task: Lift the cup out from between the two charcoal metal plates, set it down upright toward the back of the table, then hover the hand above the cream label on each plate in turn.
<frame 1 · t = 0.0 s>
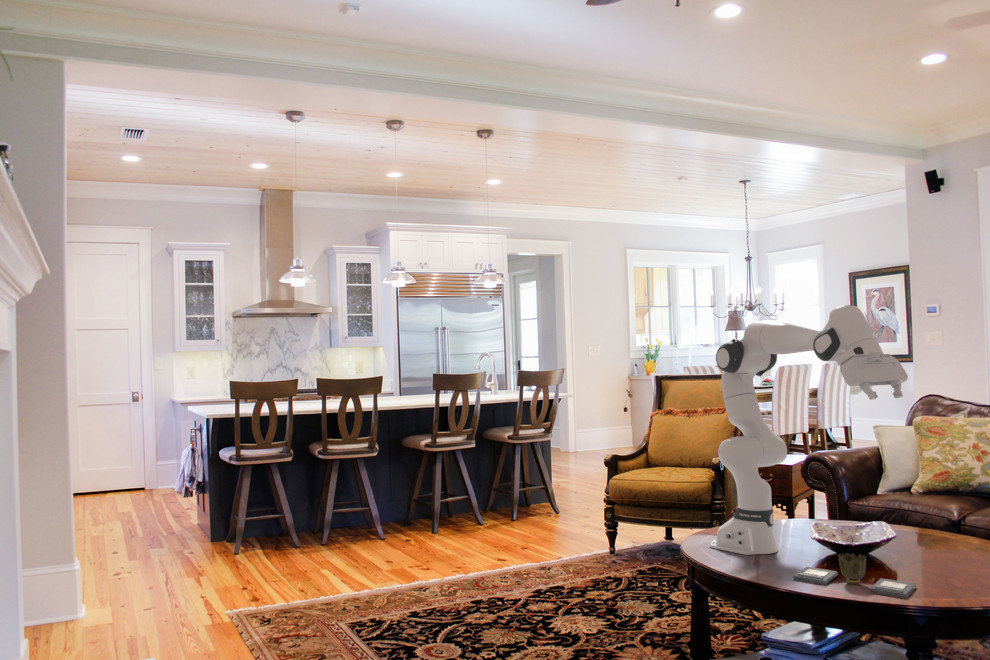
hand: (886, 398, 210), 54 cm above the table, tool tilted 30°, fingers open, 8 cm apart
cup: (853, 584, 220), on the table
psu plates: (853, 583, 220), on the table
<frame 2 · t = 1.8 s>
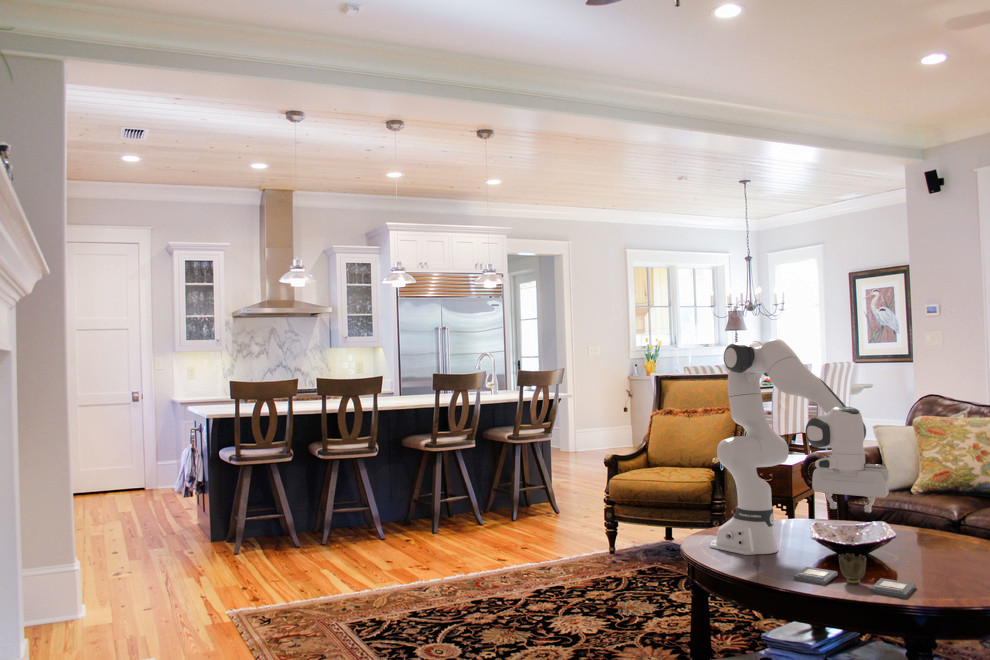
hand: (850, 510, 220), 21 cm above the table, tool pointing down, fingers open, 8 cm apart
nothing on the table moved.
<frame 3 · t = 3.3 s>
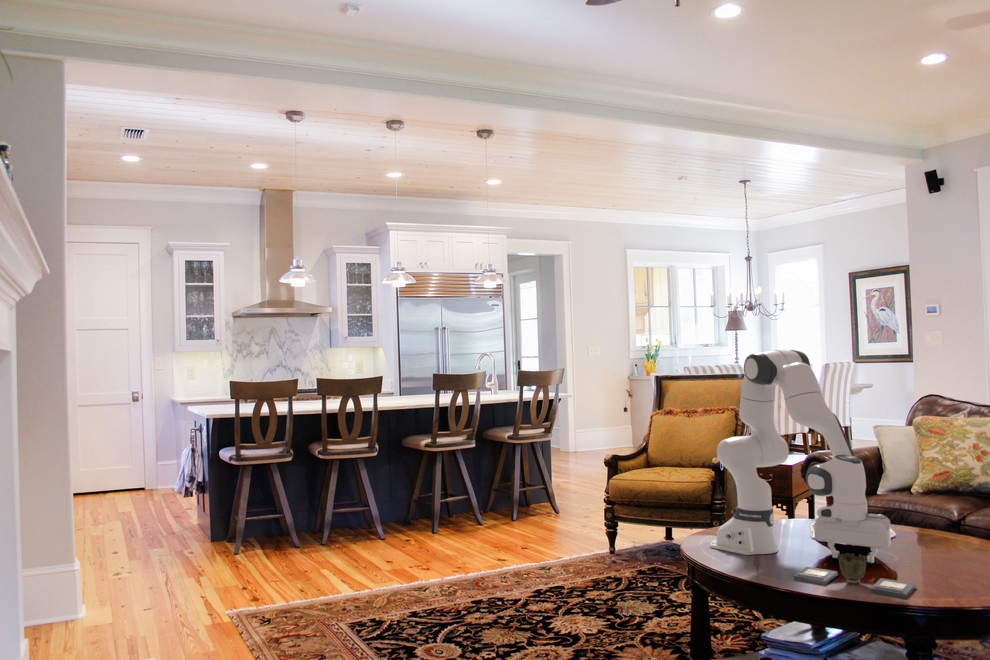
hand: (853, 559, 219), 7 cm above the table, tool pointing down, fingers open, 8 cm apart
cup: (853, 584, 220), on the table, touching gripper
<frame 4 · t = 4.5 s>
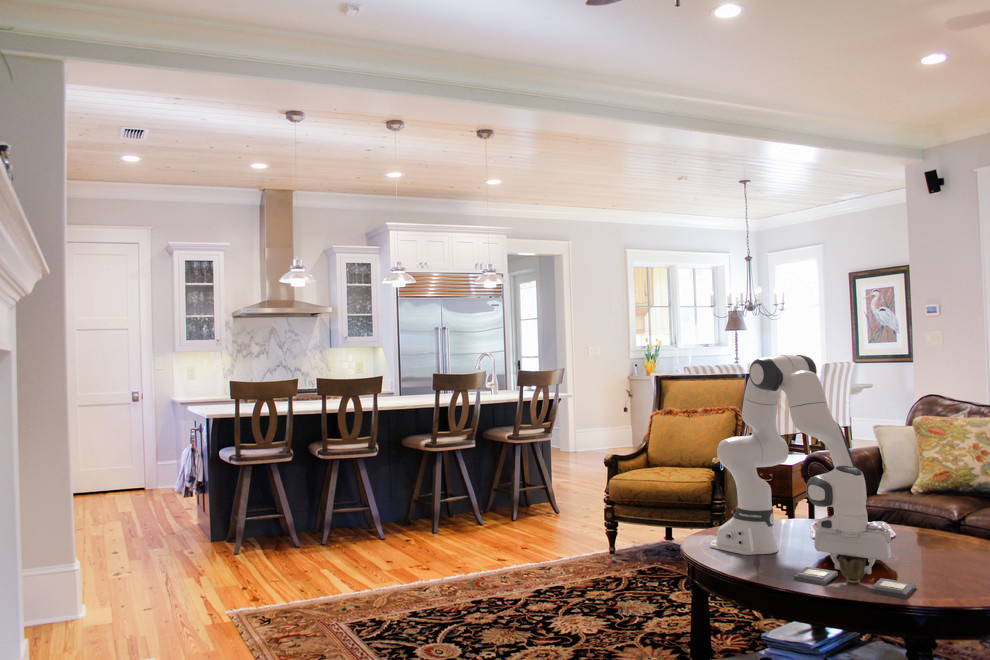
hand: (852, 571, 220), 4 cm above the table, tool pointing down, fingers closed on cup, 7 cm apart
cup: (853, 584, 220), on the table, touching gripper
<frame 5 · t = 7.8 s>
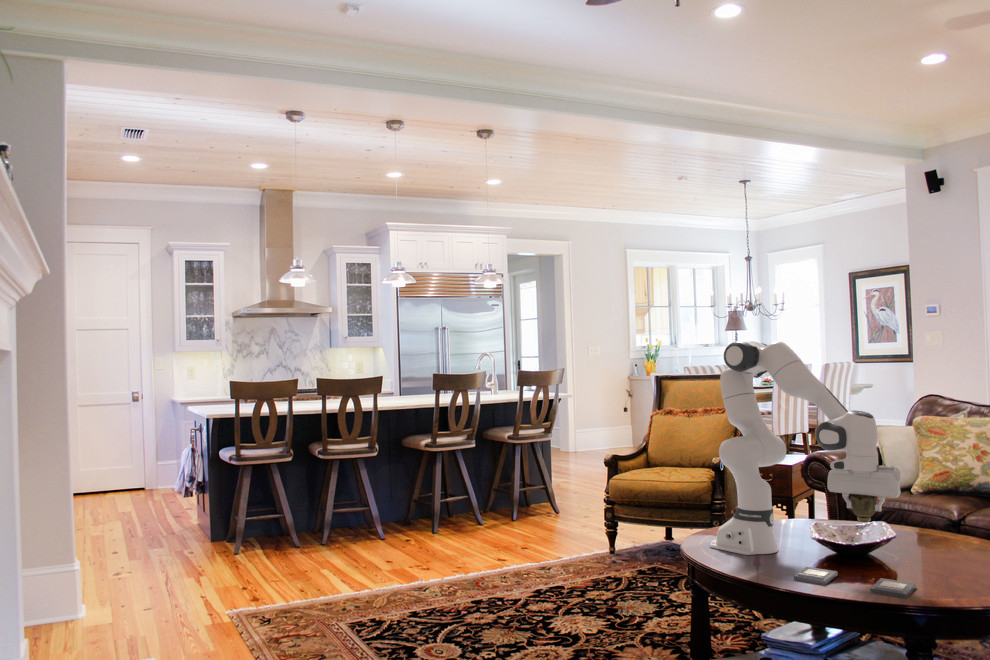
hand: (863, 509, 232), 19 cm above the table, tool pointing down, fingers closed on cup, 7 cm apart
cup: (864, 522, 232), point 15 cm above the table, touching gripper
when the fingers open (5 cm above the table, at t = 11.4 s): cup drops 1 cm, on the table.
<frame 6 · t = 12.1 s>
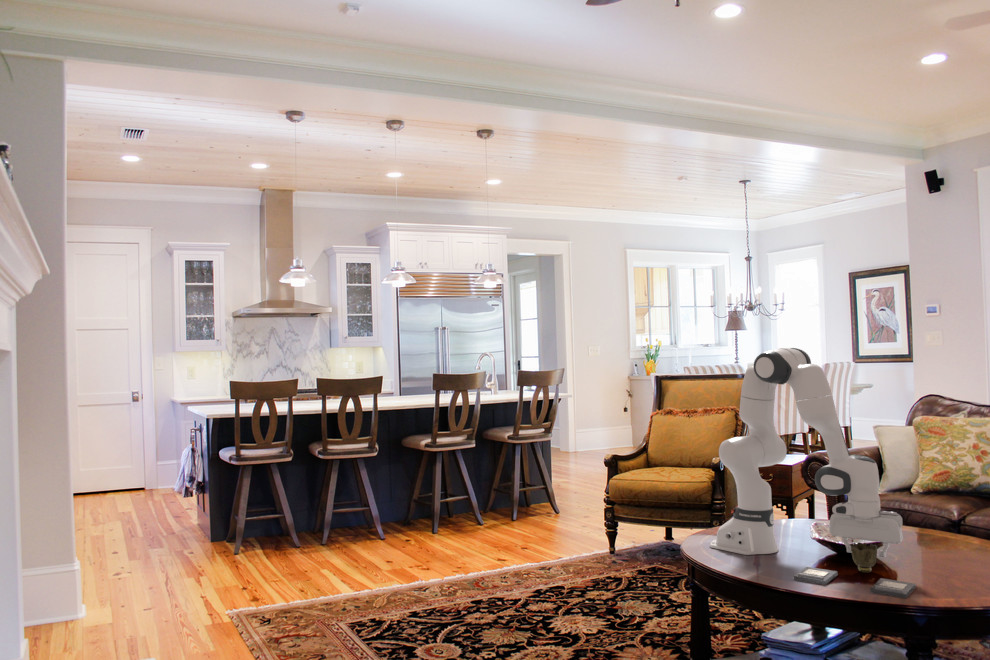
hand: (866, 554, 231), 5 cm above the table, tool pointing down, fingers open, 8 cm apart
cup: (864, 572, 231), on the table, touching gripper
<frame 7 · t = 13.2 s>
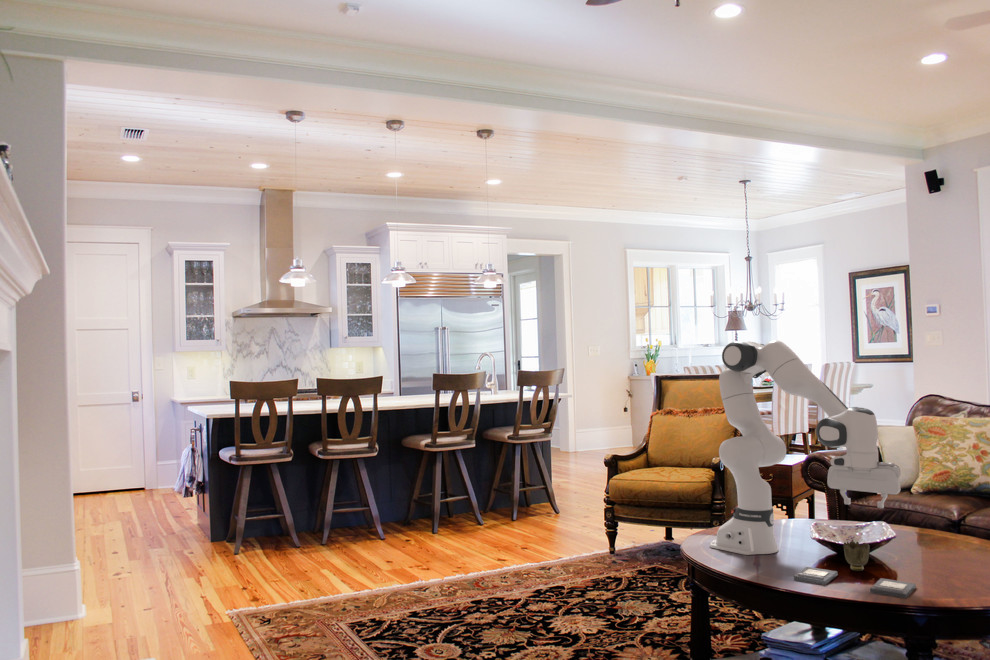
hand: (863, 505, 232), 20 cm above the table, tool pointing down, fingers open, 8 cm apart
cup: (857, 570, 233), on the table
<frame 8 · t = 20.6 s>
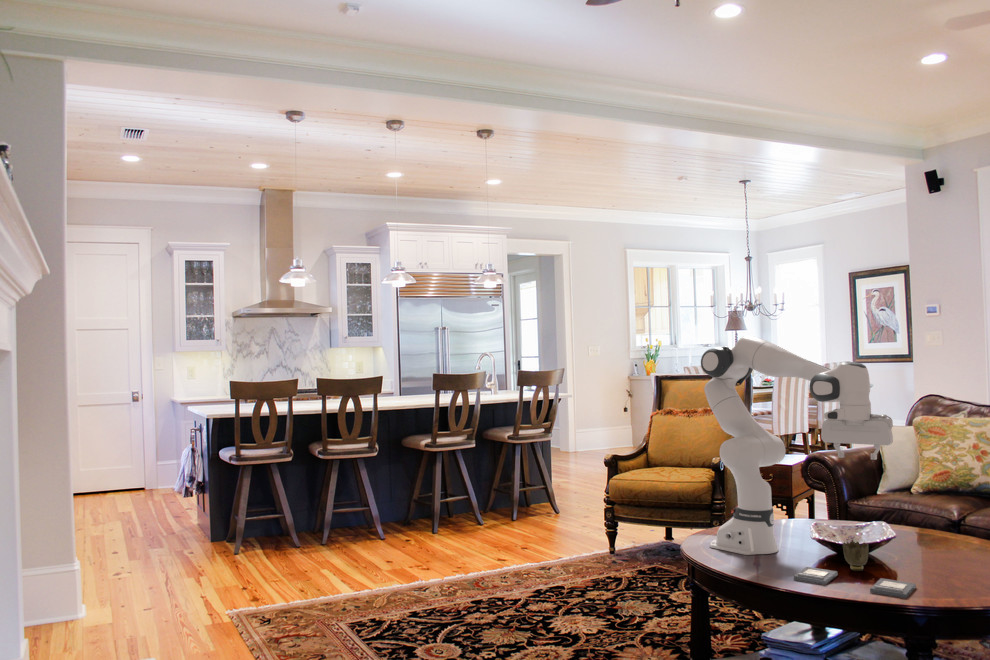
hand: (857, 458, 235), 34 cm above the table, tool pointing down, fingers open, 8 cm apart
nothing on the table moved.
at the end: cup inside the target area (2.9 cm from its centre), on the table; cup tilted 1°; the gripper is holding nothing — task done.
